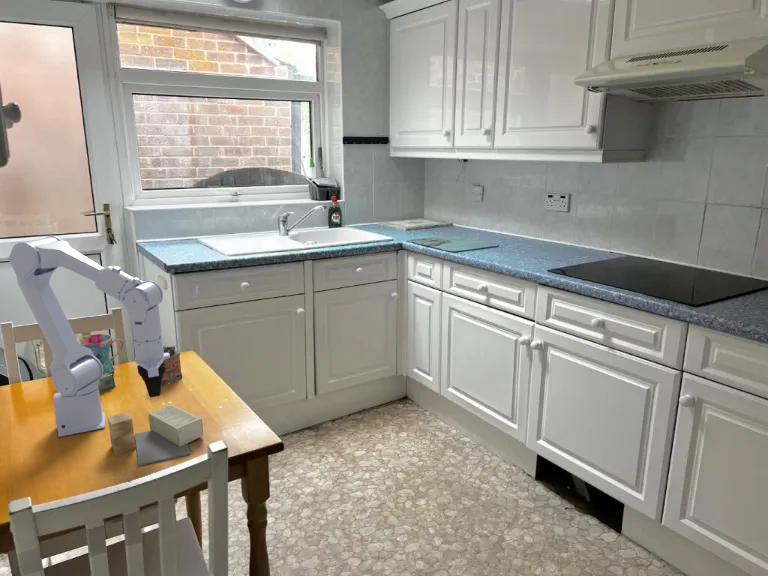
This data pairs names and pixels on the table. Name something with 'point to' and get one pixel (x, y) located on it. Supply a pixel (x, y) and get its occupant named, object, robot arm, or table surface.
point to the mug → (101, 349)
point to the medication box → (106, 382)
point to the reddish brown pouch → (171, 366)
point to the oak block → (121, 433)
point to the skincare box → (176, 424)
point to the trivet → (157, 448)
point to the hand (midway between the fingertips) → (154, 395)
